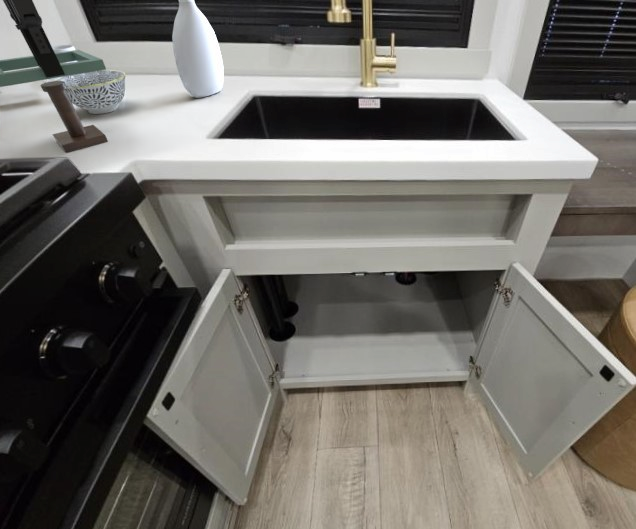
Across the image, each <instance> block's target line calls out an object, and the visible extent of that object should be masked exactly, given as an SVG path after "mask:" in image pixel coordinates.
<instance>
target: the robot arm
mask: <svg viewBox="0 0 636 529" xmlns="http://www.w3.org/2000/svg"><path fill="white" fill-rule="evenodd" d="M2 1H3V4H4V5H5V7H6V9H7V11H8V13H9V16H10V18H11V19H12V21H14V23H15V25H14V26H15V28H16V30H18V31H20V33H21V35H22V37H23V38H24V40H25V43H26V45H27V46H28V49H29V51H30V52H31V54H32V56H34V58H35V60H36V62H37V64H38V67H41V68H42V70H43V72H44V74H45V76H46V77H54V76H60V75H65V73H64V71H63V69H62V67H61V65H60V63H59V61H58V59H57V57H56V54H55V52H54V50H53V48H52V46H53V45H52V44H51V42H50V40H49V38H48V36H47V33H46V32H45V30H44V27H43V19H42V17H41V16H40V13H39V12H38V9H37V7H36V5H35V3H34V1H33V0H2Z"/></svg>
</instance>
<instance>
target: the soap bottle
mask: <svg viewBox="0 0 636 529" xmlns="http://www.w3.org/2000/svg"><path fill="white" fill-rule="evenodd" d="M171 38H172V39H171V40H172V48H173V55H174V61H175V66H176V69H177V72H178V76H179V78H180V81H181V83H182V86H183V88H184V89H185V90H186V91H187V92H188V94H189V95H190V96H191V97H192V98H196V99H200V98H201V99H202V98H206V97H209V96H213V95H215V94H218V93H220V92H221V91H222V89H223V85H224V80H225V75H224V74H225V73H224V63H223V57H222V53H221V49H220V45H219V41H218V39H217V35H216V34H215V31H214V29H213V27H212V25H211V24H210V22H209V20H208V18H207V17H206V16H205V15H204V13H202V11H201V10H200V9H199V7H198V6H197V5H196V2H195V0H178V10H177V13H176V15H175V18H174V22H173V27H172V35H171Z"/></svg>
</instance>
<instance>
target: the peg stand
mask: <svg viewBox="0 0 636 529" xmlns="http://www.w3.org/2000/svg"><path fill="white" fill-rule="evenodd" d="M39 87H40V88H41V89H42V92H44V93H47V95H48V97H49V98H50V101H51V103H52V104H53V106H54V108H55V110H56V111H57V114H58V116H59V117H60V119H61V121H62V123H63V125H64V127H65V129H66V130H65V131H61V132H56V133H53V134H52V136H53V139H54V140H55V142H56V144H58V145H59V147H60V148H61V149H62V150H63V151H64V152H65V153H69V152H73V151H77V150H82V149H84V148H85V149H86V148H88V147H93V146H96V145H100V144H103V143H107V142H109V140H108V138H107V136H106V134H105V133H104V132H103V131H101V130H100V129H99V128H98V127H97V126H95V125H94V124H91V125H86V126H84V124H83V123H82V121H81V118H80V116H79V115H78V113H77V110H76V109H75V105H74V104H73V103H72V102H71V100H70V98H69V96H68V94H67V92H66V90H65V89H67V86H66V83H65V82H64V81H52V82H44V83H41V84H40V85H39Z"/></svg>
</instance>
